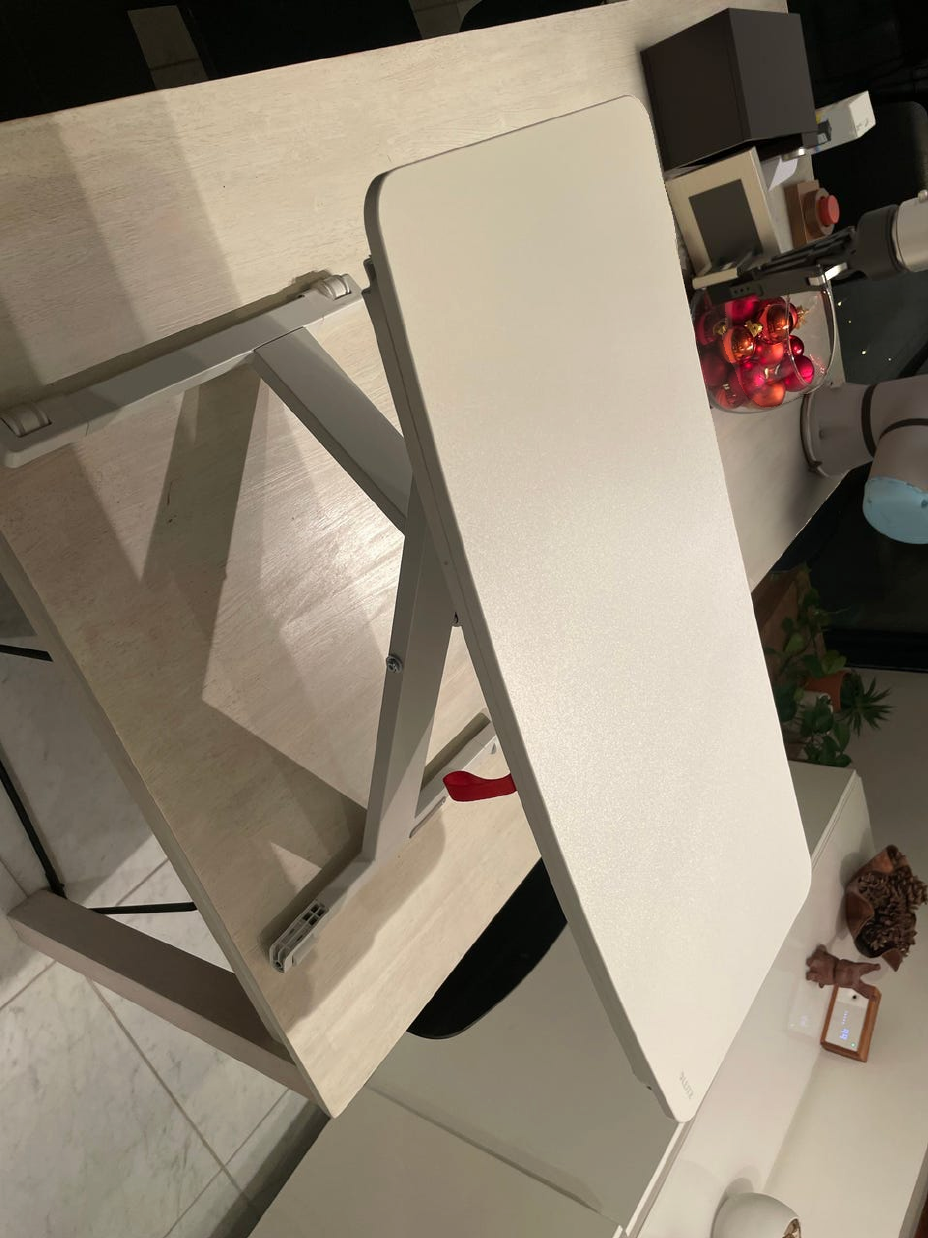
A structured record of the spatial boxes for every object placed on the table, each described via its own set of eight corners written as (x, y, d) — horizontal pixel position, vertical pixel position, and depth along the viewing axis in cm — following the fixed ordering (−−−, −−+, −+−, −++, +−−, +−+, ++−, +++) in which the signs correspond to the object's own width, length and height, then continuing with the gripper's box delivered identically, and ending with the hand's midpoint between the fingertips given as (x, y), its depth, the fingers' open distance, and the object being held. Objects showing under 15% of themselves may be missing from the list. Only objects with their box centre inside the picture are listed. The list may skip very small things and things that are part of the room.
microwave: (738, 179, 133) (821, 149, 125) (667, 192, 120) (755, 159, 112) (714, 53, 129) (799, 13, 121) (638, 51, 116) (728, 6, 107)
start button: (829, 224, 147) (840, 221, 146) (819, 227, 144) (831, 223, 143) (825, 197, 146) (836, 193, 145) (815, 199, 143) (826, 196, 142)
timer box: (815, 249, 152) (840, 242, 149) (795, 255, 146) (820, 248, 144) (804, 183, 149) (829, 175, 146) (783, 188, 144) (808, 179, 141)
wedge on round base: (746, 198, 135) (781, 174, 143) (791, 183, 131) (825, 159, 138) (729, 132, 132) (765, 112, 140) (775, 114, 127) (810, 94, 135)
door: (681, 313, 122) (766, 291, 114) (640, 203, 115) (728, 171, 107) (706, 285, 127) (790, 262, 118) (668, 178, 120) (754, 145, 112)
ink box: (791, 118, 146) (869, 87, 138) (800, 150, 148) (877, 122, 140) (770, 133, 141) (850, 102, 133) (779, 166, 143) (858, 138, 134)
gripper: (912, 182, 106) (721, 245, 122) (877, 228, 98) (679, 288, 115) (927, 246, 109) (740, 298, 126) (895, 295, 102) (700, 344, 118)
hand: (711, 293), depth 120 cm, fingers closed
